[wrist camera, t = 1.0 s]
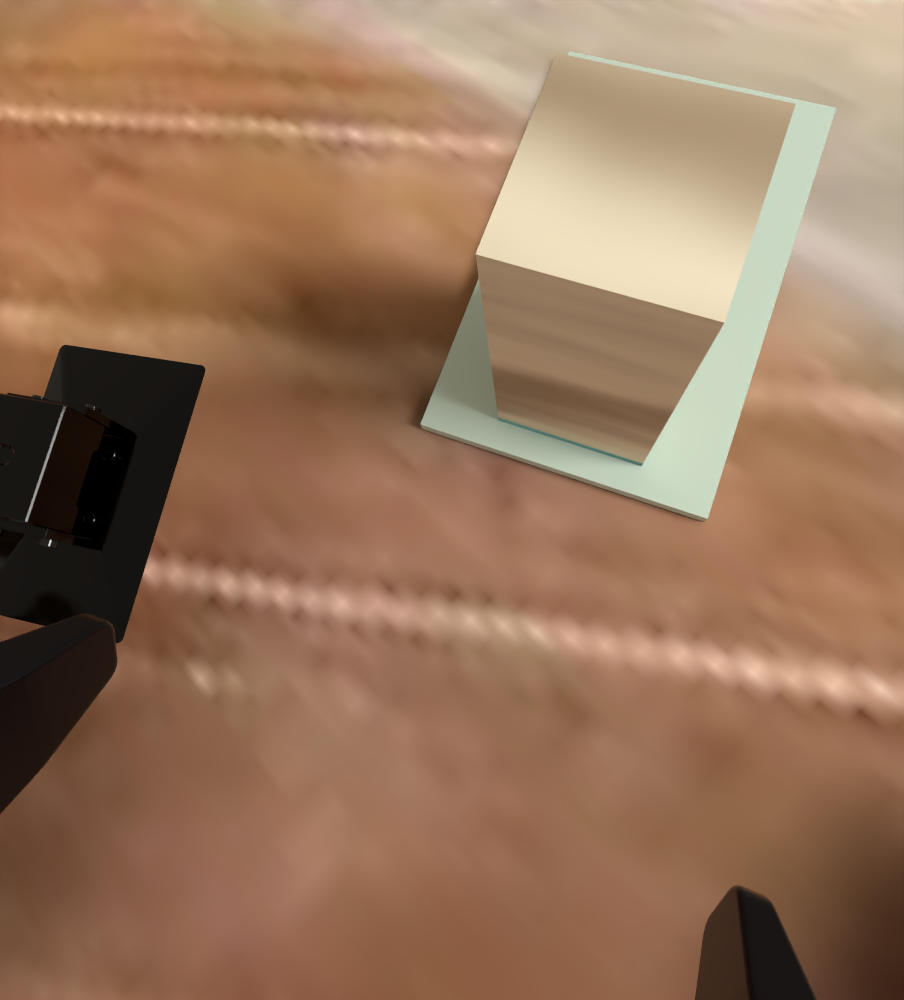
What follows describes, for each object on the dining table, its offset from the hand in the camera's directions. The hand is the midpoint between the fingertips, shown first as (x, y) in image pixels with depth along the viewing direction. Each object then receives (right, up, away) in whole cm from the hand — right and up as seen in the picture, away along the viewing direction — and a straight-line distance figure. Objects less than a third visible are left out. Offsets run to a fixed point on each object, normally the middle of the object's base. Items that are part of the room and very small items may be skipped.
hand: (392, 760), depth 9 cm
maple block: (+6, +8, +14) cm, 17 cm away
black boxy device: (-12, +4, +17) cm, 21 cm away
